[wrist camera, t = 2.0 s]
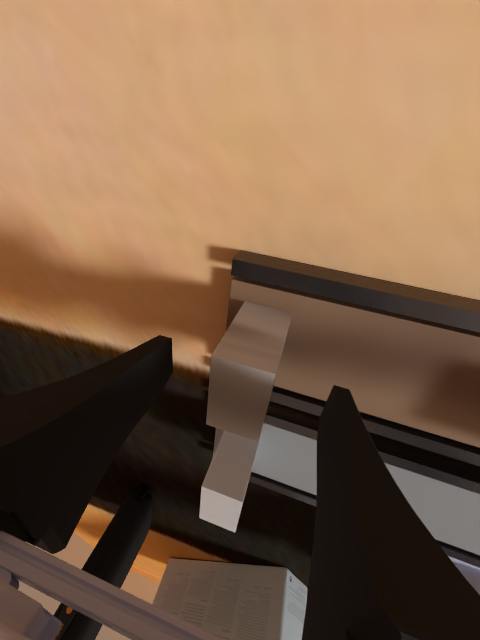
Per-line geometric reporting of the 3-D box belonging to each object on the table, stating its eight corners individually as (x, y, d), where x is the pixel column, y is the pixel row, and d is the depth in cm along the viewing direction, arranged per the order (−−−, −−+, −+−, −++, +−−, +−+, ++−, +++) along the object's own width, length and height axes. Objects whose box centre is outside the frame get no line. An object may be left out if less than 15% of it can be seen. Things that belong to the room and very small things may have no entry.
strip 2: (555, 567, 18) (630, 706, 13) (217, 446, 22) (187, 519, 18) (638, 530, 15) (775, 697, 10) (223, 397, 19) (188, 471, 14)
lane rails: (541, 569, 19) (555, 596, 17) (217, 451, 23) (211, 467, 22) (922, 394, 9) (1008, 428, 8) (241, 250, 13) (232, 258, 12)
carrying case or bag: (135, 470, 29) (-3, 686, 17) (160, 481, 29) (36, 711, 17) (135, 509, 35) (33, 691, 23) (156, 519, 35) (63, 710, 23)
